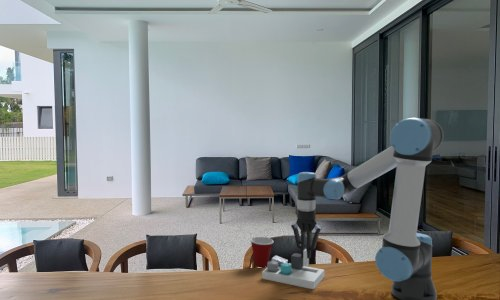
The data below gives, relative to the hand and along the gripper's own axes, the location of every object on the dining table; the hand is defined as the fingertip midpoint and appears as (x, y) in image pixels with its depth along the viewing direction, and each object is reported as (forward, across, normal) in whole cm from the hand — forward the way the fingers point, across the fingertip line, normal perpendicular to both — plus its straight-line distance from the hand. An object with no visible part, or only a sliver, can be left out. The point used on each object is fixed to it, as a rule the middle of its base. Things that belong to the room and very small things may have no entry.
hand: (306, 265), depth 148 cm
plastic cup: (+5, +22, -3) cm, 23 cm away
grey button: (+2, +12, +7) cm, 14 cm away
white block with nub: (+1, +12, 0) cm, 12 cm away
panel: (+5, +4, +4) cm, 7 cm away
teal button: (+2, +6, +7) cm, 10 cm away
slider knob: (+1, +4, 0) cm, 4 cm away
